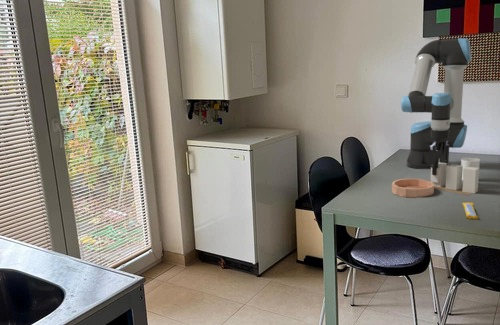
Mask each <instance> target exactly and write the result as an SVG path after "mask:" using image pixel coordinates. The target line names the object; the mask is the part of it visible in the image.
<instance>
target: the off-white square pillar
mask: <svg viewBox="0 0 500 325" xmlns="http://www.w3.org/2000/svg"><path fill="white" fill-rule="evenodd" d="M479 173H480V167H479V168H475V167H466V168H464V169H463V180H462V186H463V189H462V192H468V193H473V194H475V193H477V191H478V189H479V178H480V177H479V176H480V174H479ZM478 192H479V191H478Z"/></svg>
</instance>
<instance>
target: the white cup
mask: <svg viewBox="0 0 500 325" xmlns="http://www.w3.org/2000/svg"><path fill="white" fill-rule="evenodd" d="M480 164H481V159H480V158H477V157H463V158H462V157H461V159H460V165H461V166H463V169H464V168H466V167H475V168H479V169H480ZM462 181H463V170H462Z"/></svg>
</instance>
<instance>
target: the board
mask: <svg viewBox="0 0 500 325" xmlns="http://www.w3.org/2000/svg"><path fill="white" fill-rule="evenodd" d="M462 189H463V185H462V188H461V189H458V190H452V189H447V188H446V185H445V186H442V187H437V186H434V190H438V191H443V192H450V193H454V194H458V195H464V196H470V195H472V194H474V193H468V192H462ZM482 190H483V188H478V191H477V192H479V191H482ZM477 192H476V193H477Z"/></svg>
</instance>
